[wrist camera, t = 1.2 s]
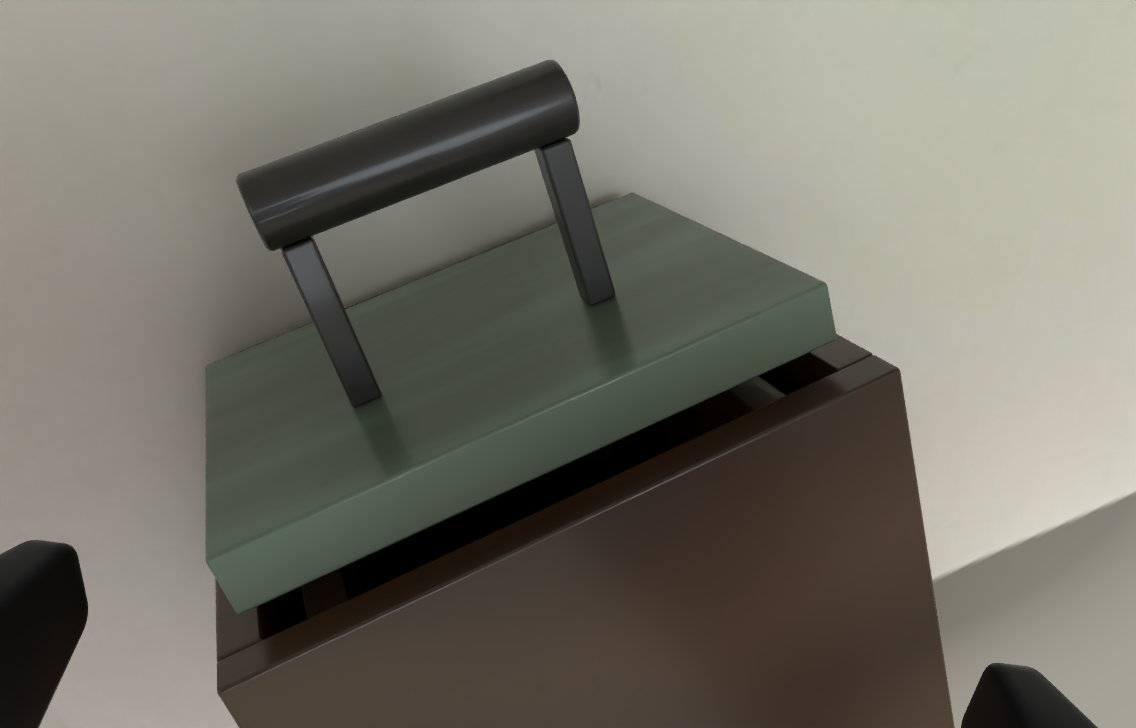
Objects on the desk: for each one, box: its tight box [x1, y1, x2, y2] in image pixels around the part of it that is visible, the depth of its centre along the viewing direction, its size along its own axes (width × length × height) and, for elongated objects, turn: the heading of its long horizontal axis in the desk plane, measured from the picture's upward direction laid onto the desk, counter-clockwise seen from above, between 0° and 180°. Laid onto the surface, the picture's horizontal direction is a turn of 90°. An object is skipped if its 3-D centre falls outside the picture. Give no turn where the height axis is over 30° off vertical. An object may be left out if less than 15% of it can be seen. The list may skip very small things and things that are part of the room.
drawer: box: [206, 60, 836, 620], centre depth 21 cm, size 14×11×9 cm
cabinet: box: [215, 334, 954, 728], centre depth 23 cm, size 11×13×11 cm
